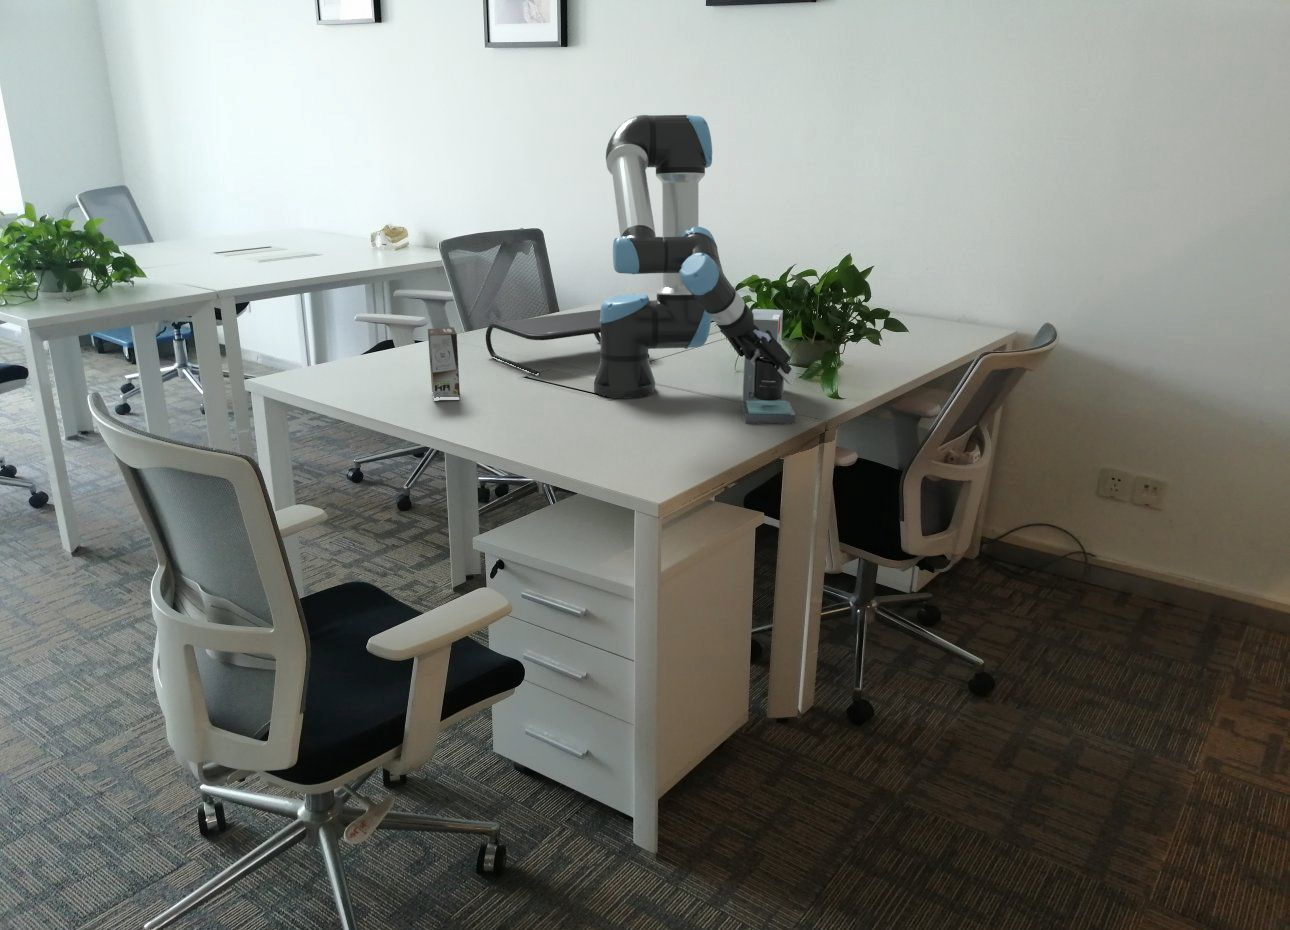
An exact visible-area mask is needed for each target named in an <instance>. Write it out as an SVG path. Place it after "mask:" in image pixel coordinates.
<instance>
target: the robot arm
mask: <svg viewBox="0 0 1290 930" xmlns="http://www.w3.org/2000/svg"><path fill="white" fill-rule="evenodd" d="M605 162H606V168H607V170H608V172H609V174H610V175H612V182H613V189H614V190H613V191H614V199H615V204H616V212H617V213H616V214H617V221H618V229H619V230H618V231H619V237H616V238H614V240H613V242H612V261H613V262H612V265H613V269H614V271H615V272H616V273H618V274H626V275H629V274H630V275H642V274H643V275H644V274H645V275H646V274H647V275H649V274H662V286H661V287H660V288H659V290H657V292H656V300H650V298H649V296H648V295H647V294H645V293H630V294H629V293H628V294H620V295H617V296H614V297H613V296H612V297H610V298H608V299H605V300H604V301H603V302H602V304H601V306H600V310H601V314H600V323H601V333H600V337H601V343H600V361H599V366H598V368H597V371H596V374H595V378H594V382H593V391H595V392H596V393H598V394H599V396H601V395H602V396H601V397H605V396H607V397H606V398H611V397H612V398H613V399H636V398H637V399H638V398H642V397H644V398H645V397H648V396H650V395H652V394H655V392H656V381H655V378H654V374H653V371H652V368H651V364H650V361H649V358H648V354H649V350H650V349H651V350H652V349H653V350H654V349H655V350H656V349H660V350H661V349H662V350H663V349H685V350H687V349H691V348H700V347H702V346H704V345H705V344H706V342H707V340H708V339H709V334H710V330H711V324H712V322H714V323H715V324H716V326H717V327H718V328H719V331H720V333H722V335H723V336H725V338H726V339H727V341H728V342H729V344H730V345H731V346H732V347H733V350H734V351H735V352H736V354H737V355H738V356H739V357H741V358H742V357H743V356H744V359H745V358H746V359H748V360H750V361H751V362H752V364H753V365H754V362H755V359H756V357H758V356H759V355H760V353H759V352H756V353H754V352H755V351H756V349H758V350H760V351H761V352H762V353H763V354H764V355H765V356H766V357H767V358H768V359H770V360H771V361H772V362H773V363H774V364H775V369H776V370H777V371H778V372H779V373H780V374H781V376H782V377H783V378H784V382H785V383H787V385H792V383H793V382H794V380H795V379H796V377H797V374H796V372H795V371H794V370H793V368H792V367H791V366H790V364H789V362H790V360H791V355H789V354H788V353H787V351H786V349H784V348H783V346H782V345H781V346H782V347H781V346H780V344H779V343H778V342H777V341H776V340H775V339H774V337H773V336H772V334H771V332H770V331H768V330H766V332H765V333H764V332H761V331H760V330H759V328H758V327H757V326H756V325H755V324H754V315H753V313H752V310H751V309H750V307H749V306H748V304H747V303H746V302H745V301H744V299H743V298H742V297H741V295H740V293H738V291H737V290H736V288H735V287H734V286H733V285H732V284H731V283H730V281H729V279H728V278H727V277H726V275H725V273H724V271H723V270H724V269H723V266H722V263H721V260H720V255H719V251H718V250H719V249H718V245H717V243H716V241H715V238H714V235H713V234H712V233H711V232H710V230H708V229H707V228H705V227H703V226H699V183H700V181H701V180H702V179H703V178H704V177H705V175H706V169H708V168H711V166H712V165H713V164H712V163H713V143H712V136H711V131H710V129H709V125H708V122H707V121H706V119H705V118H704V117H703V116H701V115H690V114H673V115H671V114H668V115H667V114H665V115H662V114H661V115H656V114H655V115H651V114H640V115H636V116H633V117H631V118H629V119H627V120H625V121H624V122H623V123H622V124H620V125H619V126H618V127H617V129H615V131H614V132H613V133H612V135H611V137H610V139H609V141H608V142H607V147H606V150H605ZM648 168H655V177H656V178H657V179H658V180H659V181H660V182H661V186H662V193H661V194H662V201H661V202H662V236H656V229H655V223H654V218H653V217H654V216H653V210H652V202H651V198H650V191H649V185H648V184H649V183H648V178H647V169H648ZM757 340H758V341H757ZM755 343H756V344H755ZM595 392H594V393H595ZM596 393H595V394H596ZM598 394H597V395H598Z"/></svg>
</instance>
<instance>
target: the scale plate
mask: <svg viewBox="0 0 1290 930" xmlns="http://www.w3.org/2000/svg"><path fill="white" fill-rule="evenodd" d="M745 402H746V405H747V408H748V411H749V414H791V411H790V408H789V406H788V404H787V402H788V401H787V400H775V401H745Z"/></svg>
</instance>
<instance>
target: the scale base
mask: <svg viewBox="0 0 1290 930" xmlns="http://www.w3.org/2000/svg"><path fill="white" fill-rule="evenodd" d="M786 402H787V404H788V406H789V408H790V411H791V414H749V411H748V408H747V405H746V401H741V414H742V417H743V420H744V424H749V425H751V424H757V425H758V424H761V425H763V424H762V423H795V424H796V413H795V411H794V409H793V407H792V404H791V403H790V401H786Z"/></svg>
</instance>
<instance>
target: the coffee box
mask: <svg viewBox="0 0 1290 930" xmlns="http://www.w3.org/2000/svg"><path fill="white" fill-rule="evenodd" d="M427 338H428V339H427V341H428V351H429V352H428V354H429V355H428V356H429V365H430V367H429V368H430V381H431V393H432V392H433V394H432V397H433V396H434V398H436V397H439V398H440V397H459V396H460V397H461V391H460V389H461V388H460V372H459V371H460V370H459V369H460V368H459V354H458V353H459V352H458V348H459V347H458V333H457V332H456V330H455V328H454V327H453V326H452V327H450V326H449V327H447V326H446V327H437V328H427ZM434 398H433V399H434Z"/></svg>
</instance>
